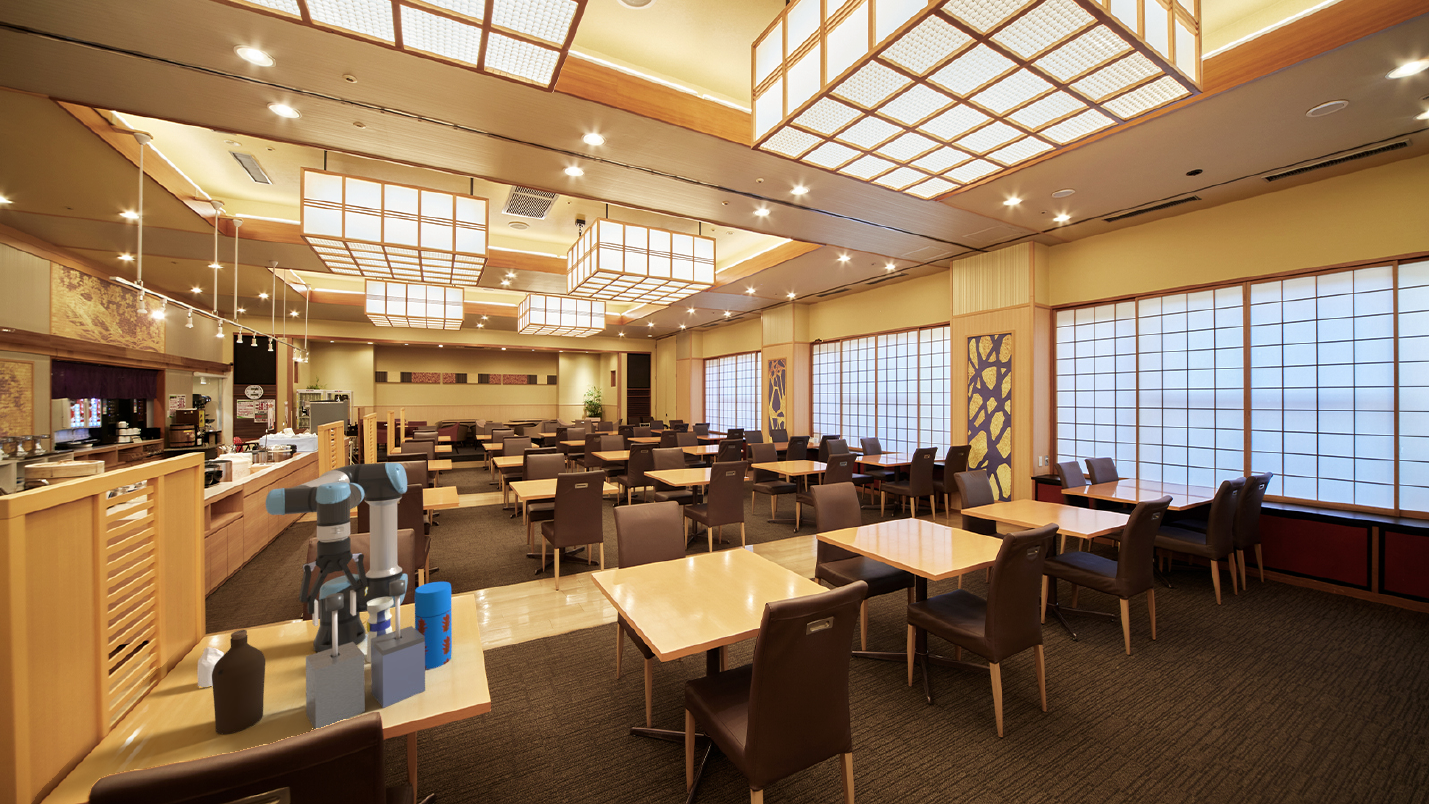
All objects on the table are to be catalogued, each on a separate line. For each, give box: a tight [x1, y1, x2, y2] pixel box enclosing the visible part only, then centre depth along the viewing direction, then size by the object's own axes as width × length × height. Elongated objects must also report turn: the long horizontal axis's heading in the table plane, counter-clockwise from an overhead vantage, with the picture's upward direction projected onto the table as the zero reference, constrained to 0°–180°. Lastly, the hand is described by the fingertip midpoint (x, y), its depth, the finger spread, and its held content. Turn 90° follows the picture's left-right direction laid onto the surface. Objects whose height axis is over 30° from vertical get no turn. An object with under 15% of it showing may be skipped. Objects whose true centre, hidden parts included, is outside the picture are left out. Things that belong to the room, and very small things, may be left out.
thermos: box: [414, 581, 453, 670], centre depth 168 cm, size 11×11×25 cm
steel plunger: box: [326, 593, 343, 658], centre depth 140 cm, size 8×8×20 cm
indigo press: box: [370, 625, 426, 709], centre depth 151 cm, size 15×11×16 cm
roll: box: [196, 646, 225, 687], centre depth 155 cm, size 6×12×6 cm
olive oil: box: [212, 629, 266, 735], centre depth 136 cm, size 11×11×25 cm
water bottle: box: [365, 587, 394, 664], centre depth 171 cm, size 8×9×25 cm
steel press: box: [305, 642, 366, 730], centre depth 141 cm, size 15×11×16 cm
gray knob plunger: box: [389, 580, 406, 640], centre depth 150 cm, size 8×8×20 cm
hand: (334, 619), depth 140 cm, fingers open, 8 cm apart
